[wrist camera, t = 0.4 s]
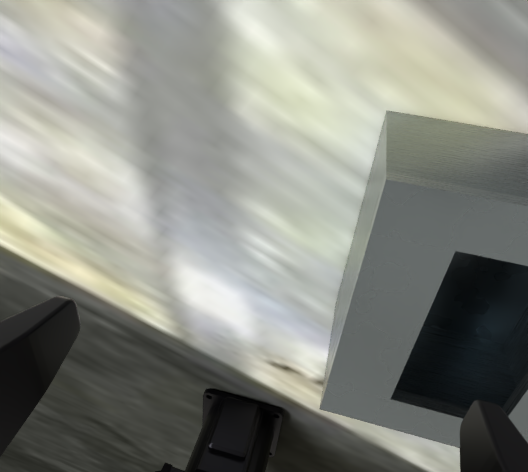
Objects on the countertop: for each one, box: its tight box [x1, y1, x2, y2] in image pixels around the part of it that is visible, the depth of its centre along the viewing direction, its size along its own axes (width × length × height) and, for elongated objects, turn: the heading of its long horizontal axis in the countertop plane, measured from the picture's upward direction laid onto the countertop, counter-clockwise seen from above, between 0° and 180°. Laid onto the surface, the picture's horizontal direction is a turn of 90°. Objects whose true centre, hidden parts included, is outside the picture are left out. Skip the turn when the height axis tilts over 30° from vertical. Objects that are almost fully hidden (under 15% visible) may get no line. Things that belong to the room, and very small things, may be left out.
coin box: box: [320, 111, 528, 448], centre depth 19 cm, size 12×10×7 cm
